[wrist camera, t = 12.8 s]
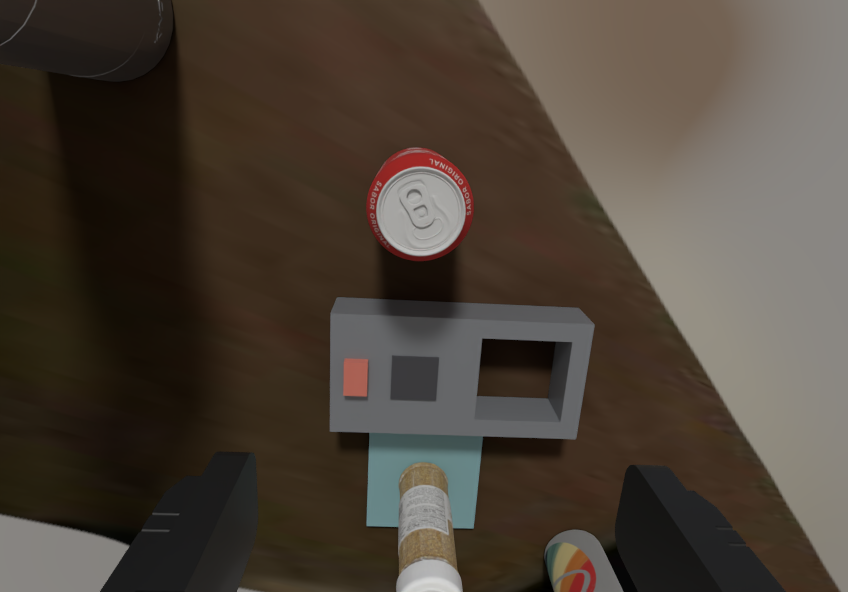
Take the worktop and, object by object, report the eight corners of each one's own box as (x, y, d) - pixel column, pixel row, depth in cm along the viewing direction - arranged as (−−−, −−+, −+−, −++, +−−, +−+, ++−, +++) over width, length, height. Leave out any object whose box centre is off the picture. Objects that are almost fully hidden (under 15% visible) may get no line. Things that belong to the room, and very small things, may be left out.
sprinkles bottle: (439, 506, 49) (451, 640, 37) (391, 495, 49) (387, 626, 36) (454, 465, 48) (473, 589, 35) (406, 453, 48) (407, 574, 35)
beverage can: (469, 209, 42) (494, 240, 30) (396, 242, 42) (393, 284, 31) (437, 132, 40) (451, 135, 29) (361, 168, 41) (344, 183, 29)
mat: (367, 521, 50) (366, 526, 50) (369, 427, 47) (369, 431, 47) (472, 524, 51) (473, 528, 50) (482, 431, 48) (483, 435, 47)
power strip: (335, 406, 47) (328, 436, 42) (337, 297, 44) (329, 316, 39) (562, 414, 48) (578, 444, 43) (578, 307, 45) (597, 328, 40)
